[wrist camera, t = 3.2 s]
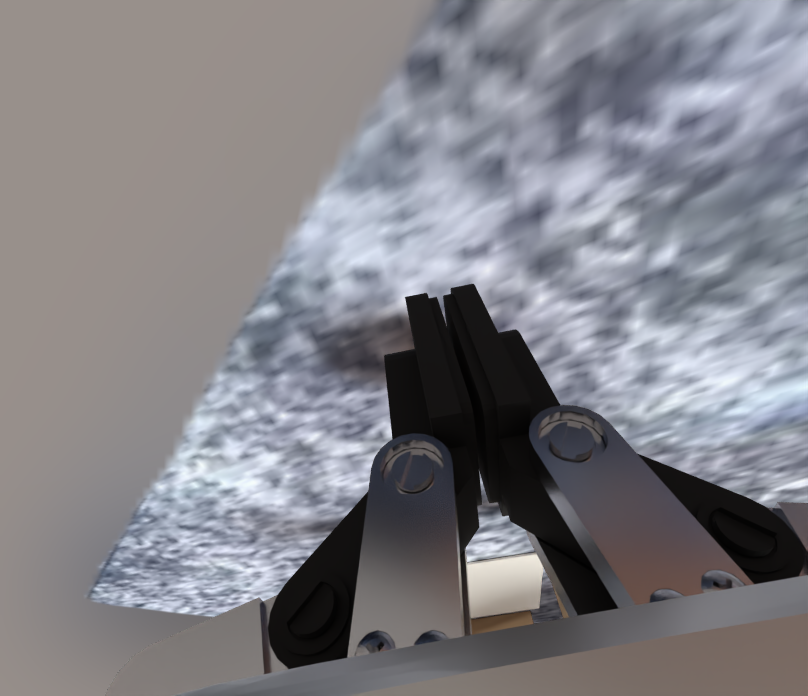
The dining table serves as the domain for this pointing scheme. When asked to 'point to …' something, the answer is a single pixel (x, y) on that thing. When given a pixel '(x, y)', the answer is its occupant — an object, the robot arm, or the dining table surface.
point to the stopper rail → (500, 622)
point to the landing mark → (504, 584)
